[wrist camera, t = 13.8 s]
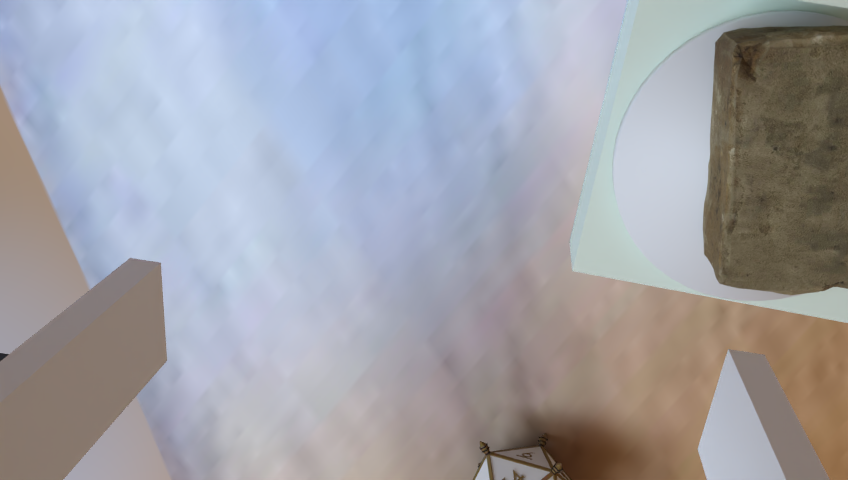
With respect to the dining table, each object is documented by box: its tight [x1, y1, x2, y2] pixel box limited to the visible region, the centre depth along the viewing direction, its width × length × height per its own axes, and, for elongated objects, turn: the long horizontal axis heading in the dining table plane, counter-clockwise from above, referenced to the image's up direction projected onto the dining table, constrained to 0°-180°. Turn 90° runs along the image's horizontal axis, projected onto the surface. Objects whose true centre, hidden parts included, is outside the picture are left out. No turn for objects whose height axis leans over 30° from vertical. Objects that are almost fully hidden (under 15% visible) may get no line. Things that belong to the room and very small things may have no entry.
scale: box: [570, 0, 848, 323], centre depth 34 cm, size 18×15×9 cm
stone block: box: [703, 25, 848, 295], centre depth 31 cm, size 6×12×5 cm, turn 6°
